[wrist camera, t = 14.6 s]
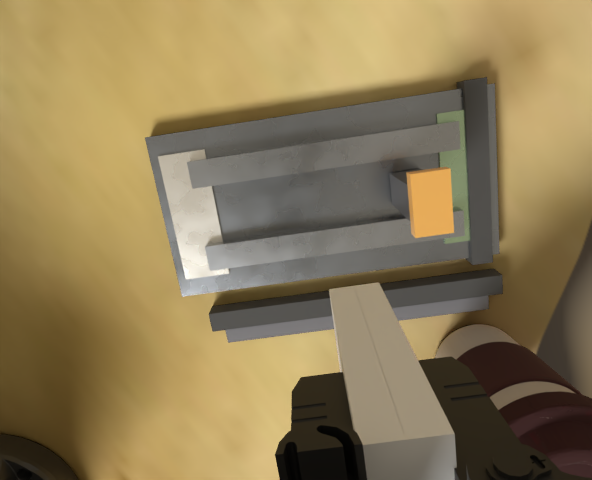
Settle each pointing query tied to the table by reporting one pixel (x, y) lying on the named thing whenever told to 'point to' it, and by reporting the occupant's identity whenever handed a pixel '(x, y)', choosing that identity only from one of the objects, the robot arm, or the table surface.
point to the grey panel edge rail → (478, 169)
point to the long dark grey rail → (318, 313)
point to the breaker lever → (424, 200)
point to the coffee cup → (527, 395)
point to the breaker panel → (312, 192)
